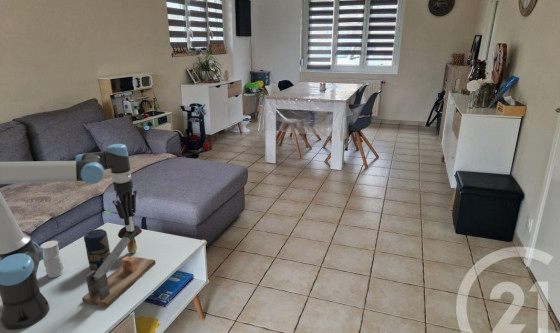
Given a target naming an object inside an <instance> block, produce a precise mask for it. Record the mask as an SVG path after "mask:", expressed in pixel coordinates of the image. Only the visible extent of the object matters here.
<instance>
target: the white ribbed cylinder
mask: <svg viewBox="0 0 560 333" xmlns="http://www.w3.org/2000/svg"><path fill="white" fill-rule="evenodd" d="M39 247H40V250H41V254H42V261H43V265H44V267H45V271H46V272H45V273H46V274H47V276H48V278H51V279H53V278H57V277H60V276H62V274H64V264H63V258H62V253H61V252H60V249H59V248H60V247H59V241H58V240H50V241H49V240H48V241H46V242H44V243H42V244H40V246H39Z"/></svg>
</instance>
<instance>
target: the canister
mask: <svg viewBox="0 0 560 333" xmlns="http://www.w3.org/2000/svg"><path fill="white" fill-rule="evenodd" d="M83 240H84V245H85V246H84V247H85V250H86V256H87V260H88V265H89V267H90V269H91V270H94V271H97V270H98V269H99V268H100V266H101V265H102V264H103V262H104V261H105V260H106V258H107V257H108V256H109V255H110V253H111V251H110V244H109V237H108V234H107V231H106V230H105V229H101V228H100V229H98V228H97V229H93V230H90V231H87V232H86V233H85V234H84V236H83Z"/></svg>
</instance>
